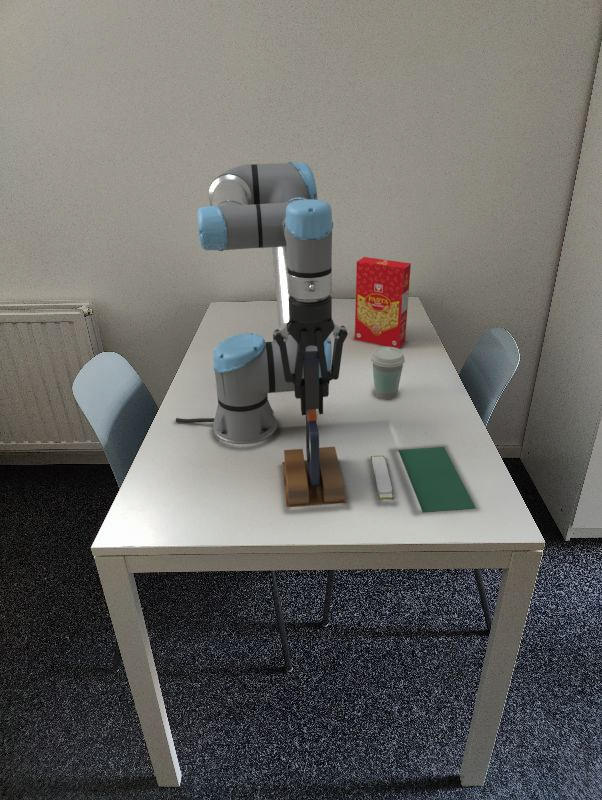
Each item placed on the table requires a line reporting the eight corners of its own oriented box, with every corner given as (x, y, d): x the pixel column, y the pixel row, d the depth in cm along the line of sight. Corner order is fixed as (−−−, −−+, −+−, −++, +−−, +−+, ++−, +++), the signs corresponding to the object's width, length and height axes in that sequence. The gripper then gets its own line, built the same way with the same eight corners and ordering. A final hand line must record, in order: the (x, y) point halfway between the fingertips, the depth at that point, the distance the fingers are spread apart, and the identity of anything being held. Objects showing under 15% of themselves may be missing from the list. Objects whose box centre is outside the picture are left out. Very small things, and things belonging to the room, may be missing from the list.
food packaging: (354, 339, 185) (356, 261, 172) (361, 333, 188) (364, 256, 176) (398, 348, 178) (404, 268, 165) (405, 342, 182) (410, 263, 169)
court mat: (415, 512, 114) (415, 512, 114) (391, 450, 132) (391, 450, 132) (475, 508, 115) (475, 507, 115) (444, 447, 133) (444, 446, 133)
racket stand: (347, 507, 116) (347, 488, 114) (286, 512, 115) (285, 493, 113) (336, 462, 129) (336, 444, 127) (282, 466, 128) (281, 448, 126)
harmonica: (394, 503, 117) (394, 495, 116) (378, 504, 117) (379, 496, 116) (384, 460, 129) (384, 452, 128) (370, 460, 129) (370, 453, 128)
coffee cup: (401, 403, 150) (404, 361, 144) (367, 400, 152) (369, 359, 146) (403, 387, 157) (406, 346, 151) (371, 384, 159) (373, 344, 153)
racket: (323, 488, 116) (322, 368, 102) (308, 489, 116) (305, 369, 102) (317, 455, 125) (315, 341, 112) (303, 456, 125) (300, 342, 112)
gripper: (265, 305, 97) (272, 424, 109) (358, 300, 98) (355, 418, 110) (263, 289, 104) (270, 403, 116) (351, 285, 105) (349, 398, 117)
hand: (311, 410), depth 113 cm, fingers closed on racket, 3 cm apart
